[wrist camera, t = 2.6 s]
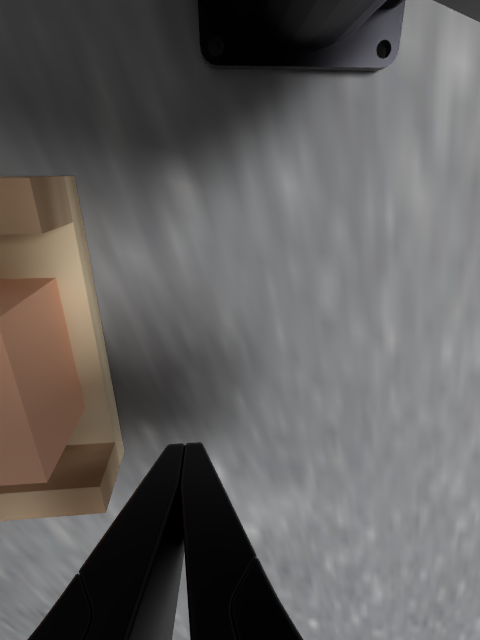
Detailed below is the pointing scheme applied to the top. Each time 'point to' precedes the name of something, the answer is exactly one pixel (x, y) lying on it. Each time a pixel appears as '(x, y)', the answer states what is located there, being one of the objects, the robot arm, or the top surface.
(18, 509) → the frame
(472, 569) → the top surface
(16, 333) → the terracotta block
